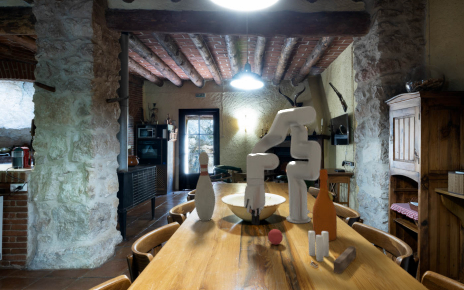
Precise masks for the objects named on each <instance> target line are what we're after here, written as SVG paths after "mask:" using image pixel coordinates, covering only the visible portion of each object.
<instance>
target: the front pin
mask: <svg viewBox="0 0 464 290" xmlns="http://www.w3.org/2000/svg"><path fill="white" fill-rule="evenodd" d="M307 233H308V236H307V237H308V255H309V256H310V257H311V256H312V257H316V238H315V231H313V230H308V231H307Z"/></svg>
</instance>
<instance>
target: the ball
mask: <svg viewBox="0 0 464 290" xmlns="http://www.w3.org/2000/svg"><path fill="white" fill-rule="evenodd" d="M267 238H268V241H269V242H270V244H272V245H279V244H281V243H282V242H283V238H284V236H283V233H282V232H281V230H279V229H276V228H274V229H271V230H270V231H269V232H268V234H267Z"/></svg>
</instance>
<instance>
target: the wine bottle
mask: <svg viewBox="0 0 464 290" xmlns="http://www.w3.org/2000/svg"><path fill="white" fill-rule="evenodd" d="M319 173H320V175H319V177H318V179H319V180H320V181H319V191H318V194H317V196H316V199H315V201H314V203H313V207H312V231H315V239H316V235H322V233H321V232H322V231H327V232H328V237H329V242H331V241H335V240H336V239H337V234H338V233H337V232H338V231H337V230H338V229H337V228H338V225H337V223H338V222H337V221H338V220H337V218H338V217H337V210H336V206H335V204H334V201H333V200H334V197H333V195H332V192H331V191H329V188H328V182H327V181H328V179H329V177H328V169H325V168H320V170H319Z"/></svg>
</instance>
